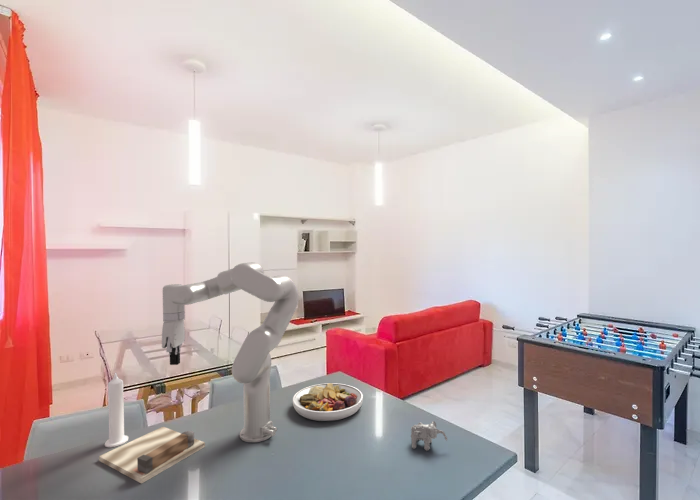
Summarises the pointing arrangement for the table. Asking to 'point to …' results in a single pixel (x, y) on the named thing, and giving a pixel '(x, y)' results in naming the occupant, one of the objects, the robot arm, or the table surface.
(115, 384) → the candle
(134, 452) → the ash board
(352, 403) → the bowl
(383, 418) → the table surface
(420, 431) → the gray elephant figurine
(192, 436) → the bar
